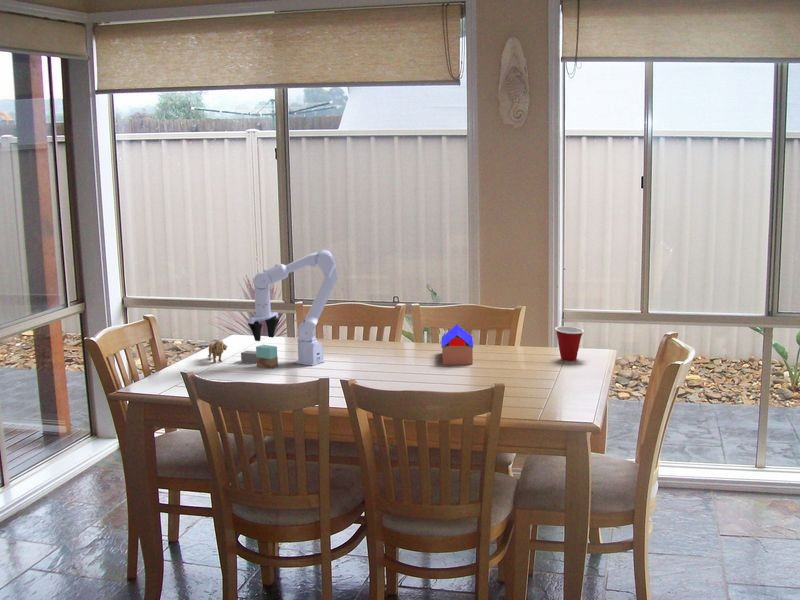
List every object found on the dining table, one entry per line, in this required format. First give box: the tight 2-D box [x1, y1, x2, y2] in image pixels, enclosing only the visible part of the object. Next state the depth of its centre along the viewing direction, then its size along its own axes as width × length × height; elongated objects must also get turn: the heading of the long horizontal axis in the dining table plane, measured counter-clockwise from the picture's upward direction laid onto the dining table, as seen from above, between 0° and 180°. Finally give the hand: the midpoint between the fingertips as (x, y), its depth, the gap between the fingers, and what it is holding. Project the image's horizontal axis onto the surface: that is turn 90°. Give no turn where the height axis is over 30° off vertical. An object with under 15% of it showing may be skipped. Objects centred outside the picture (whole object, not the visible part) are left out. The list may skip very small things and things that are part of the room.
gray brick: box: [240, 350, 257, 365], centre depth 348 cm, size 7×4×4 cm, turn 66°
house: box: [441, 324, 474, 365], centre depth 345 cm, size 12×20×12 cm, turn 177°
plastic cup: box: [554, 325, 585, 362], centre depth 339 cm, size 11×11×12 cm
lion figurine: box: [207, 340, 228, 364], centre depth 351 cm, size 15×5×9 cm, turn 36°
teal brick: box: [255, 344, 278, 359], centre depth 339 cm, size 7×4×4 cm, turn 55°
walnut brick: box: [256, 356, 279, 370], centre depth 339 cm, size 7×4×4 cm, turn 62°
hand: (264, 339), depth 342 cm, fingers open, 7 cm apart
